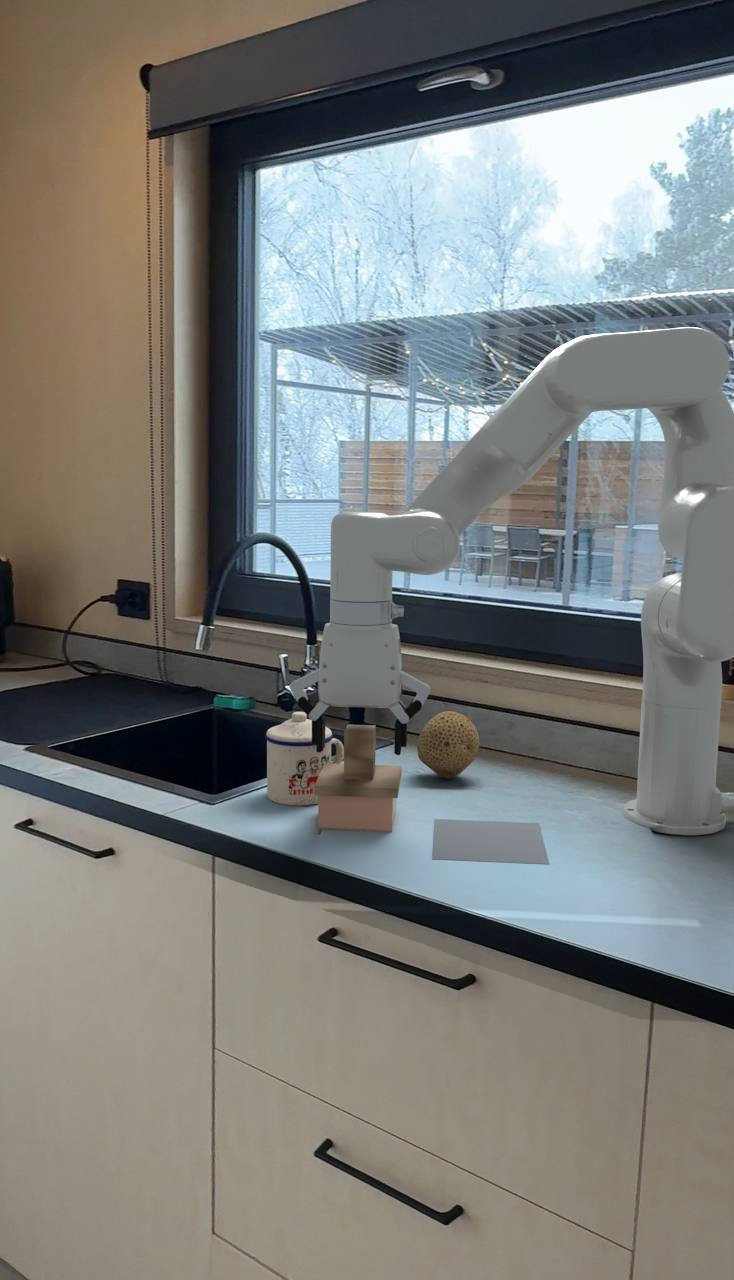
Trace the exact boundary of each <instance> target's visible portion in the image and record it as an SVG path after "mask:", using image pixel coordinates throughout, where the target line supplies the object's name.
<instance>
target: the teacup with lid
mask: <svg viewBox="0 0 734 1280" xmlns="http://www.w3.org/2000/svg"><path fill="white" fill-rule="evenodd" d="M307 716H308V715H307V714H306V713H305V712H304V711H294V712H293V713H292V714H291V718H290V719H287V720H285V721H284V722H282V723H280V724H278V725H277V724H276V725H275V726H272V727H270V728H268V730H267V731H266V734H265V735H264V737H265V740H266V789H267V790H266V794H267V795H266V796H267V797H268V799H269V800H270V801H272V802H274V803H276V804H279V805H283V806H284V805H286V806H297V807H298V806H302V807H303V806H312V805H318V795H314V792H315V783H316V781H317V779H318V777H319V775H320V772H321V770H322V768H323V766H324V763H331V764H342V762H343V761H344V743H342V742H341V741H340V740H339V739H337V738H335V737H334V736H333V732H332V730H331V729H330V728H329V727H327V726H325V747H324V749H323V751H321V752H317V751H316V744H312V720H311V719H310V718H307ZM332 745H334V746H335V750H336V751H335V757H334V760H333V762H332Z"/></svg>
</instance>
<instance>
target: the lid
mask: <svg viewBox="0 0 734 1280" xmlns="http://www.w3.org/2000/svg"><path fill="white" fill-rule="evenodd" d="M376 729H377V726H376V725H374V724H373V725H372V724H370V725H369V724H368V725H367V724H346V727H345V728H344V733H343V738H344V739H343V747H344V756H343V763H341V764H332V762H331V763H324V766H323V768H322V770H321V772H320V775H319V777H318V779H317V781H316V783H315V792H314V795H322V796H350V797H377V798H397V799H398V798H399V791H400V786H401V780H402V772H403V771H402V768H403V767H402V765H388V764H387V765H386V764H384V765H383V764H376V745H377V744H376V741H377V739H376V736H377V735H376V732H377V730H376Z"/></svg>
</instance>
